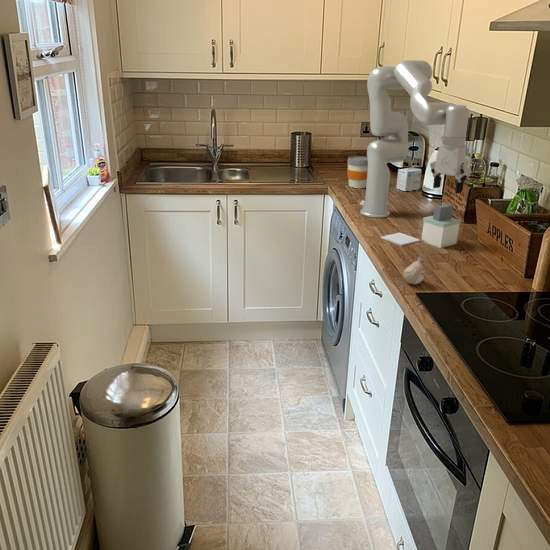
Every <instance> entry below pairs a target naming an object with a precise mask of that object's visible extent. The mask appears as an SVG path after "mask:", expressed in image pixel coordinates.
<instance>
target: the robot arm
mask: <svg viewBox="0 0 550 550" xmlns="http://www.w3.org/2000/svg"><path fill="white" fill-rule="evenodd" d="M432 76H433V69H432V66H431V65H430V63H429V62H427V60H426V61H425V60H410V59H409V60H403V61H400V62H399V63H397V65H396V66H380V67H378V66H377V67H376V68H374V69H372V70H371V71H370V73H369V75H368V77H367V82H366V86H367V88H366V89H367V94H368V97H369V98H368V99H369V121H370V122H369V126H370V127H369V129H370V132H371V134H372V135H373V136H376V137H390V138H391V139H388V138H387V139H376V140H373V141H371V142H370V143H369V144H368V145H367V148H366V149H367V150H366V157H367V159H368V173H367V185H366V189H365V197H364V198H365V199H364V200H361V201H360V202H359V206H361V207H362V208H361V209H360V211H359V212H360V214H361V215H363V216H365V217H370V218H386V217H389V216H390V214H391V211H389V210H388V209H387V208H388V201H389V200H388V199H389V197H388V196H389V190H390V189H389V188H390V182H391V181H390V180H391V179H390V178H391V171H390V168H389V167H388V164H389V163H400V162H403V161H404V160H405V159H406V158H407V156H408V152H409V124H408V123H409V122H408V120H407V117H406V116H405V114H404V113H402V112H399V111H394V112H393V111H392V102H391V101H392V100H391V98H390V96H389V94H388V92H387V91H386V90H405V91H406V92H407V93H408V95H409V96H410V99H409V104H410V105H409V106H410V111H411V112H412V114H413V115H414V116H415V118H416V119H417V120H418V121H419V122H420V123H421V124H423V125H427V126H436V125H438V126H440V125H443V136H441V138H440V141H442V143H441V144H440V145H439V146H438V149H437V153H436V157H435V160H434V161H433V162H431V163H430V164H429V166H430V171H431V173H432V177H433V182H432V183H433V185H432V188H433V189H439V188H440V187H441V185H442V184H441V183H442V176H441V175H444V176H449V177H450V176H451V177H455V178H456V180H457V182H455V189H454V193H455V194H462V193H463V189H464V183H465V182H466V180H468V179H469V178H470V176H471V175H472V172H473V171H472V170H471V169H470V168H469V167H468V165H466V164H467V163H466V162H467V147H466V138H467V131H468V125H469V123H468V122H469V116H470V109H469V110H468V108H466V107H467V105H465V104H455V103H453V102H429V101H428V100H427V99H426V98H427V97H428V96H429V95H430V93H431V91H432V90H433V83H432V81H431V78H432Z"/></svg>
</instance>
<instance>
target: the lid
mask: <svg viewBox="0 0 550 550" xmlns="http://www.w3.org/2000/svg"><path fill="white" fill-rule="evenodd" d="M453 210H454V205H453V204H450V203H444V204H438V205H435V206H434V210H433V215H430V216H425V217H423V220H422V221H423V222H424V221H426V222H429V223H432V224H435V225H438V226H441V227H447V226H452V225H456V224H459V225H460V224H461V219H458V218H454V217H452V216H453Z"/></svg>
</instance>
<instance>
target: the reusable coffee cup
mask: <svg viewBox="0 0 550 550" xmlns="http://www.w3.org/2000/svg"><path fill="white" fill-rule="evenodd" d="M346 163H347V168H346V169H347V173H346V174H347V178H348V187H349V186H350V187H354V188H365V187H366V185H367V173H368V159H367V156H363V155H362V156H361V155H353V156H348V158H347V162H346Z"/></svg>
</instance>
